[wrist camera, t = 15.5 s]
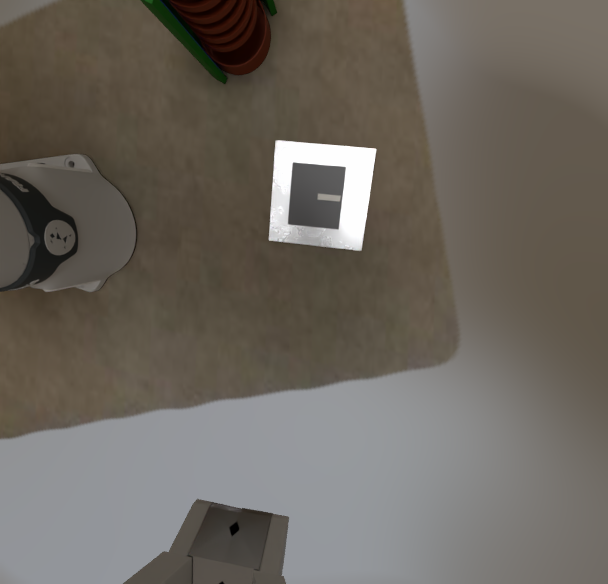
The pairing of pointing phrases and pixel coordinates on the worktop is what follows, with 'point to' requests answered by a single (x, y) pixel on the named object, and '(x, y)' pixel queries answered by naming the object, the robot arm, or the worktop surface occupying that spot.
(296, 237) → the shaft plate
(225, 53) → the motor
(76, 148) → the worktop surface
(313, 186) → the dark grey cube
